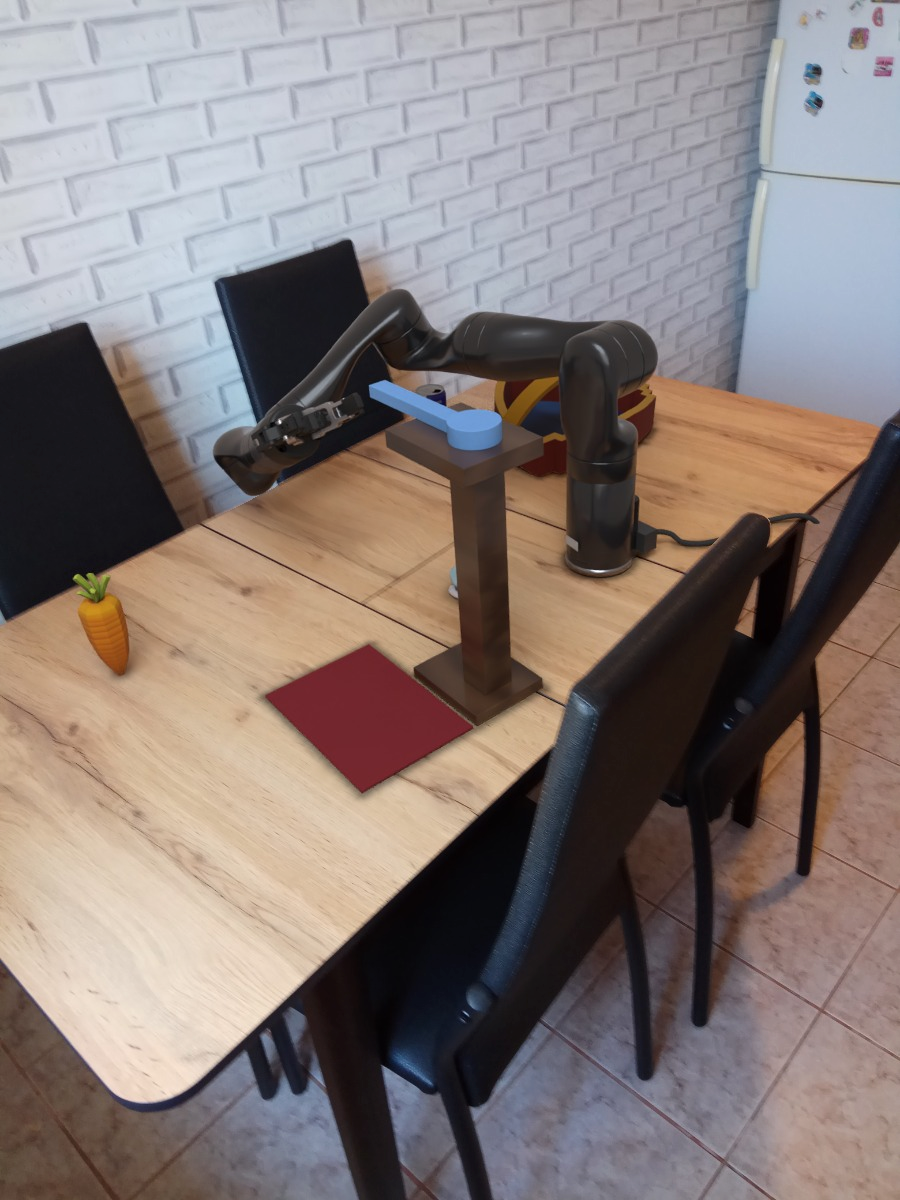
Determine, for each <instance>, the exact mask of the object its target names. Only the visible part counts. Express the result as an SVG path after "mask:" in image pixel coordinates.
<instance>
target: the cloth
mask: <svg viewBox="0 0 900 1200" xmlns="http://www.w3.org/2000/svg"><path fill="white" fill-rule="evenodd" d="M264 697H265V698H266V699H267V700H268V701H269V702H270V703H271V705H273V706H274V707H275V708H276V710H278V711H279V712H280V713H281V714H282V715H283V716H284V717H285V718H286V719H287V720H288V721H289V723H291V724H292V725H293V726H294V727H295V728H296V729H297V730H298V731H299V733H301V734H302V735H303V736H304V737H305V738H306V740H307V741H309V742H310V743H311V745H313V746H314V747H315V748H316V749H317V750H318V751H319V753H321V754H322V755H323V756H324V757H325V758H326V759H327V760H328V761H329V762H330V763H331V764H332V765H333V766H334V767H335V768H336V769H337V770H338V771H339V773H341V774H342V776H344V777H345V778H346V779H347V780H348V781H349V782H350V783H351V784H352V785H353V786H354V787H355V789H357V790H358V791H359V792H360V793H361V794H363V793H365V792H367V791H369V790H370V789H372V788H373V787H376V786H377V785H379V784H381V783H382V782H384V781H386V780H387V779H389V778H391V777H392V776H394V775H396V774H398V773H400V772H401V771H403V770H404V769H406V768H408V767H409V766H411V765H413V764H415V763H416V762H418V761H420V760H422V759H423V758H425V757H427V756H429V755H430V754H432V753H433V752H436V751H437V750H439V749H441V748H442V747H444V746H446V745H447V744H449V743H451V742H452V741H454V740H456V739H458V738H459V737H461V736H463V735H464V734H466V733H468V732H470V731H471V730H473V729H474V726H473V725H472V724H471V723H469V722H468V721H467V720H466V719H465V718H463V717H462V716H460V715H459V714H458V713H457V712H456V711H454V710H453V709H452V708H451V707H450V706H449V705H447V704H446V703H444V702H443V701H442V700H440V699H439V698H438V697H437V696H436V695H434V694H433V693H432V692H430V691H429V690H428V689H427V688H425V687H424V686H423V685H422V684H421V683H419V681H417V680H415V679H414V678H413V677H411V675H409V674H408V673H406V672H405V671H404V670H403V669H401V668H400V667H399V666H398V665H396V664H395V663H394V662H393V661H391V660H390V659H389V658H388V657H386V656H385V655H384V654H382V653H381V651H379V650H378V649H376V648H375V647H374V646H372V645H371V644H370V643H368V644H366V645H364V646H362V647H359V648H358V649H356V650H354V651H351V652H350V653H348V654H346V655H344V656H342V657H340V658H337V659H336V660H334V661H332V662H330V663H328V664H325V665H323V666H322V667H319V668H317V669H315V670H314V671H311V672H309V673H307V674H305V675H303V676H301V677H299V678H298V679H295V680H293V681H291V682H289V683H287V684H284V685H282V686H281V687H279V688H277V689H275V690H273V691H271V692H269V693H266V694H265V695H264Z"/></svg>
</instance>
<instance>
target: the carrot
mask: <svg viewBox="0 0 900 1200" xmlns="http://www.w3.org/2000/svg"><path fill="white" fill-rule="evenodd" d="M85 576H86V577H87V579H88V581H87V579H86V578H85V577H83V576H82V575H81V574H79V573H76V574H75V575H74V576H73V577H72V580H73V581H74V582H75V583H76V584H77V585H79V586H80V587H81V588H82V589H83V590H78V591H77V592H76V595H78V596H81V597H84V598H83V599H82V600H81V602H80V605H79V607H78V609H77V614H78V617H79V621H80V623H81V625H82V628H83V631H84V633H85V635H86V637H87V640H88V642H89V644H90V645H91V647H92V649H93V650H94V651H95V653H96V655H97V656H98V658H99V659H100V660H101V661H102V662H103V663H104V665H106V667H108V668H109V669H110V670H112V671H113V672H114V673H115V674H117V675H120V676H122V675H124V674H125V672H126V669H127V665H128V661H129V655H130V637H129V629H128V624H127V620H126V616H125V612H124V608H123V606H122V605H123V604H122V602H121V600H120V599H119V597H117V596H116V595H114V594H112V593H110V592H106V591H107V588H108V584H109V582H110V580H111V576H110V575H109V574H104V575H102V577H101V580H100V582H99V580H98V578H97V576H96V575H95V574H94V573H93V572H92V573H91V572H88V573H87V574H85ZM91 584H92V585H91Z"/></svg>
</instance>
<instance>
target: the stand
mask: <svg viewBox="0 0 900 1200" xmlns="http://www.w3.org/2000/svg"><path fill="white" fill-rule="evenodd" d="M447 407H448V408H450V409H452V410H455V411H457V412H461V411H465V410H473V409H477V408H475V407H474V406H471V405H468V404H466V403H464V402H458V403H455V404H452V405H450V406H447ZM384 435H385V445H386V448H387V449H389V450H390V451H393V452H394V453H396V454H398V455H400V456H402V457H404V458H406V459H408V460H410V461H412V462H413V463H416V464H417V465H420V466H422V467H423V468H425V469H427V470H429V471H431V472H433V473H435V474H437V475H439V476H440V477H443V478H445V479H446V480H448V481H449V489H450V503H451V506H450V507H451V517H452V532H453V533H452V534H453V545H454V547H453V548H454V559H455V567H456V576H457V589H456V591H457V592H458V599H457V602H458V603H457V605H458V617H459V629H460V630H459V632H460V642H459V643H457V644H455V645H453V646H450V647H449V648H447V649H445V650H444V651H441V652H440V653H437V654H435V655H434V656H432V657H430V658H428V659H426V660H425V661H422V662H420V663H419V664H417V665H415V666H413V667H412V669H413V677H414V678H415V679H416V680H417V681H418V682H420V683H421V684H422V685H424V686H425V687H426V688H428V689H429V690H431V691H432V692H433V693H434V694H435V695H437V696H438V697H439V698H440V699H442V700H443V701H444V702H446V703H447V704H448V705H450V706H451V707H452V708H454V710H455V711H457V712H458V713H459V714H461V715H462V716H464V717H465V718H466V719H467V720H469V722H471V723H472V724H474V725H475V726H476V727H478V726H480V725H482V724H483V723H485V722H486V721H488V720H490V719H492V718H493V717H495V716H498V714H500V713H502V712H505V710H507V709H509V708H511V707H512V706H514V705H515V704H517V703H519V702H521V701H523V700H524V699H526V698H527V697H529V696H531V695H533V694H535V693H537V692H538V691H540V690H542V689H543V677H542V676H540V675H538V674H537V673H536V672H534V671H533V670H531V669H530V668H529V667H526V665H524V664H522V663H521V662H520V661H518V660H516V659H515V658H514V657H512V653H511V652H512V650H511V622H510V621H511V620H510V619H511V618H510V592H509V591H510V588H509V587H510V586H509V564H508V563H509V562H508V561H509V560H508V534H507V533H508V532H507V531H508V529H507V504H506V502H507V500H506V477H505V475H506V473H505V472H508V471H510V470H512V469H514V468H517V467H520V465H522V464H524V463H527V462H529V461H531V460H534V459H536V458H539V457H541V456H543V437H542V436H539V435H537V434H535V433H532V432H530V431H528V430H525V429H523V428H520V427H518V426H516V425H513V424H511V423H509V422H506V421H504V420H502V440H501V442H500V443H499V444H497V445H496V446H493V447H491V448H488V449H483V450H473V451H471V450H461V449H457V448H454V447H452V446H451V445H450V444H449V443H448V439H447V433H446V432H444V431H442V430H439V429H437V428H435V427H433V426H431V425H429V424H427V423H424V422H422V421H420V420H418V419H416V418H414V419H411V420H408V421H405V422H403V423H399V424H397V425H394V426H391V427H389V428H386V429H384Z"/></svg>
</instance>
